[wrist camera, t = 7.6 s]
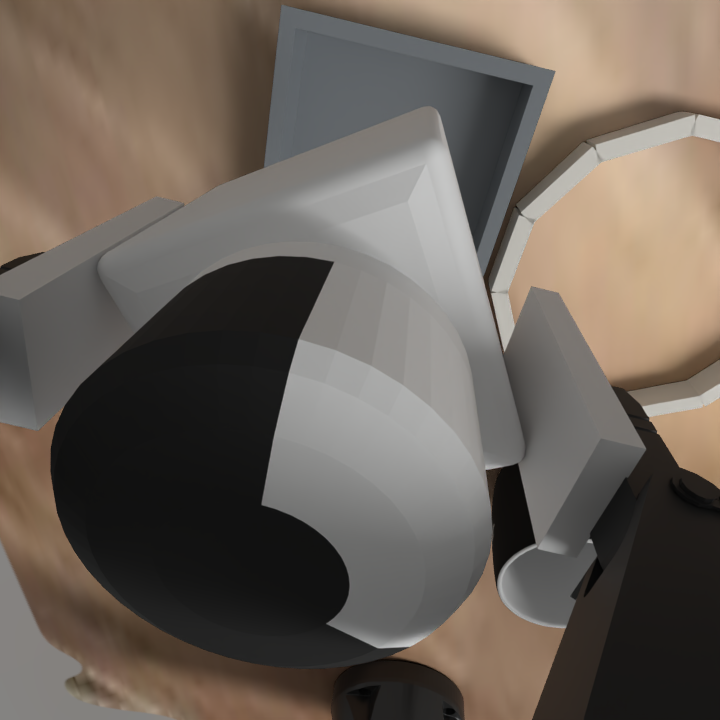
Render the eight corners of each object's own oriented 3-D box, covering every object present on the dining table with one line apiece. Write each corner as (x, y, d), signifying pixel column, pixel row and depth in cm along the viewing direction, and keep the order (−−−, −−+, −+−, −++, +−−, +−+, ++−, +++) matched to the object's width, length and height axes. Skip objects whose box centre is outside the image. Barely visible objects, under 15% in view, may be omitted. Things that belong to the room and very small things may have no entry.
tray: (464, 293, 36) (468, 318, 32) (270, 247, 35) (253, 267, 32) (540, 69, 29) (555, 71, 25) (299, 11, 29) (281, 4, 25)
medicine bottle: (302, 375, 19) (157, 738, 9) (212, 186, 16) (-166, 409, 6) (495, 324, 17) (593, 710, 7) (436, 100, 14) (457, 206, 4)
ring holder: (706, 426, 39) (719, 444, 37) (456, 367, 38) (458, 381, 37) (891, 162, 29) (920, 168, 27) (559, 81, 29) (567, 82, 27)
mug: (463, 460, 43) (472, 563, 34) (570, 418, 40) (611, 520, 31) (525, 552, 47) (547, 664, 38) (625, 521, 44) (675, 635, 35)
